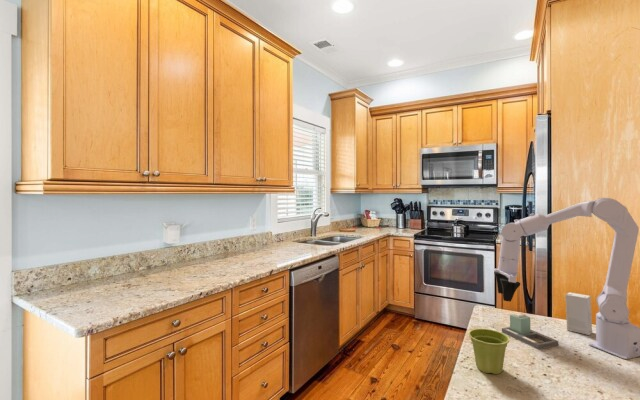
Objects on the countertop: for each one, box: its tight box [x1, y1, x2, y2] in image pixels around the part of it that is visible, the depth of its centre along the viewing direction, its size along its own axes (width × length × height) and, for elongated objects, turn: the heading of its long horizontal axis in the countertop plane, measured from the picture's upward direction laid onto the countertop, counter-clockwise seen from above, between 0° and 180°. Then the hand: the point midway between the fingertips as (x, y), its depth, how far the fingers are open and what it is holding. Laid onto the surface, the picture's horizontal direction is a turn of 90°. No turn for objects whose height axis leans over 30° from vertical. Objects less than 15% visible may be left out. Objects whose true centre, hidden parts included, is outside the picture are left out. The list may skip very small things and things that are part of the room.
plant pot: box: [468, 328, 510, 375], centre depth 85 cm, size 9×9×9 cm
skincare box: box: [565, 291, 593, 336], centre depth 107 cm, size 6×4×12 cm
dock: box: [501, 326, 559, 350], centre depth 103 cm, size 13×8×1 cm, turn 17°
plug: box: [509, 312, 531, 335], centre depth 106 cm, size 4×4×7 cm
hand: (504, 296), depth 111 cm, fingers open, 7 cm apart
